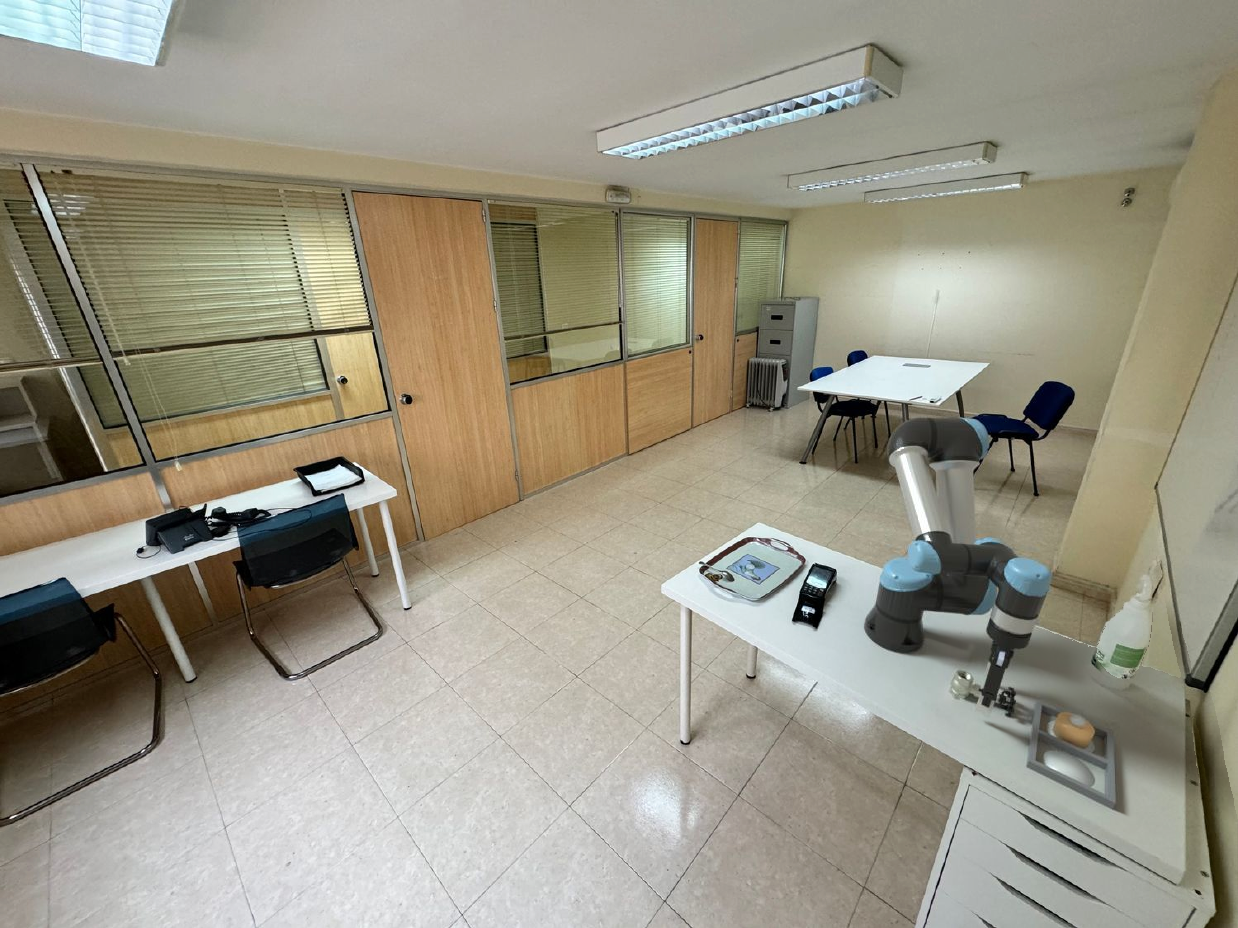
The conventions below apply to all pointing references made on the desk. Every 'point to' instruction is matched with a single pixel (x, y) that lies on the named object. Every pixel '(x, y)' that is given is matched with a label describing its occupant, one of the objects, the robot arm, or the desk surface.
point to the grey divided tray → (1072, 759)
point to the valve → (964, 686)
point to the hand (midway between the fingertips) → (986, 694)
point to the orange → (1073, 729)
